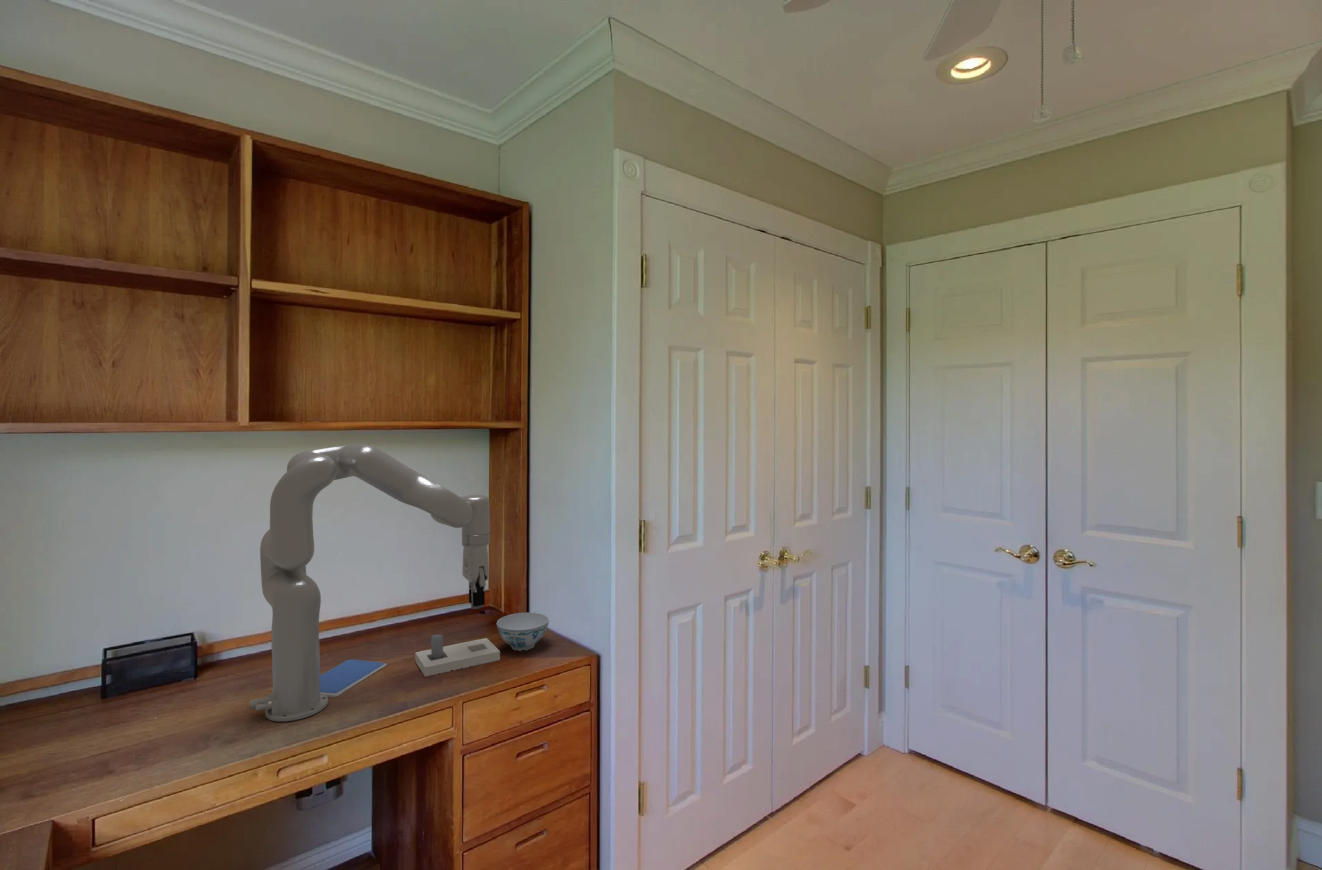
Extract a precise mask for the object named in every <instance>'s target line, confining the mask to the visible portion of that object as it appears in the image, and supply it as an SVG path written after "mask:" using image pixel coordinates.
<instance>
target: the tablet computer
mask: <svg viewBox="0 0 1322 870" xmlns="http://www.w3.org/2000/svg"><path fill="white" fill-rule="evenodd" d="M387 666H388V665H387V663H385V662H379V661H372V660H371V661H370V660H360V659H347V660H345V661H343V662H342V663H340V664H338V665H336V666H334V667H333V668H331V669H329V670H327V671H326V672H323V673H322V674H320V693H323V694H325V695H326V696H327V697H331V698H335V697H338V696H340V695H342V694H344V693H345V692H347V691H348V690H350V689H351V688H353V687H354V686H356V685H358V684H359V683H361V682H362V681H364V680H365V679H367V678H369V677H371V676H372V675H374V674H375V673H377V672H379V671H380V670H382V669H384V668H386V667H387ZM346 690H347V691H346ZM343 692H344V693H343Z"/></svg>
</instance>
